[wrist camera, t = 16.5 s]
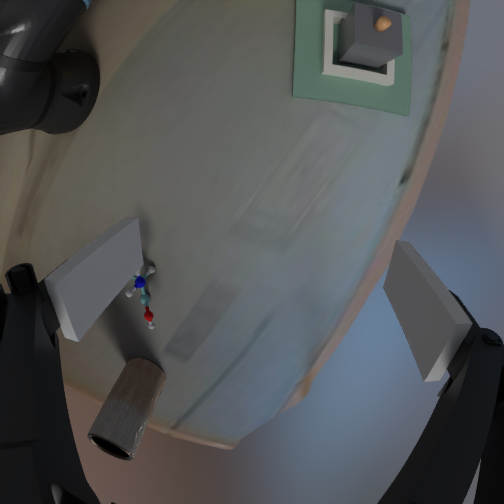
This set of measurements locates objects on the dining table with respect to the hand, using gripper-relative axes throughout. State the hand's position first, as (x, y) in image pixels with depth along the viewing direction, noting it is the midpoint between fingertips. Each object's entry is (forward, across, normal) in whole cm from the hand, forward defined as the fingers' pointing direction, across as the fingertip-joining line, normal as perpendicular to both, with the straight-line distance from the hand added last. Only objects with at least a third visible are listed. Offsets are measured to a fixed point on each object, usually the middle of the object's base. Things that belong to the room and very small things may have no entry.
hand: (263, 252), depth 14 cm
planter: (+27, -26, -46) cm, 60 cm away
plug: (+25, +9, +18) cm, 32 cm away
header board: (+27, +9, +18) cm, 33 cm away
